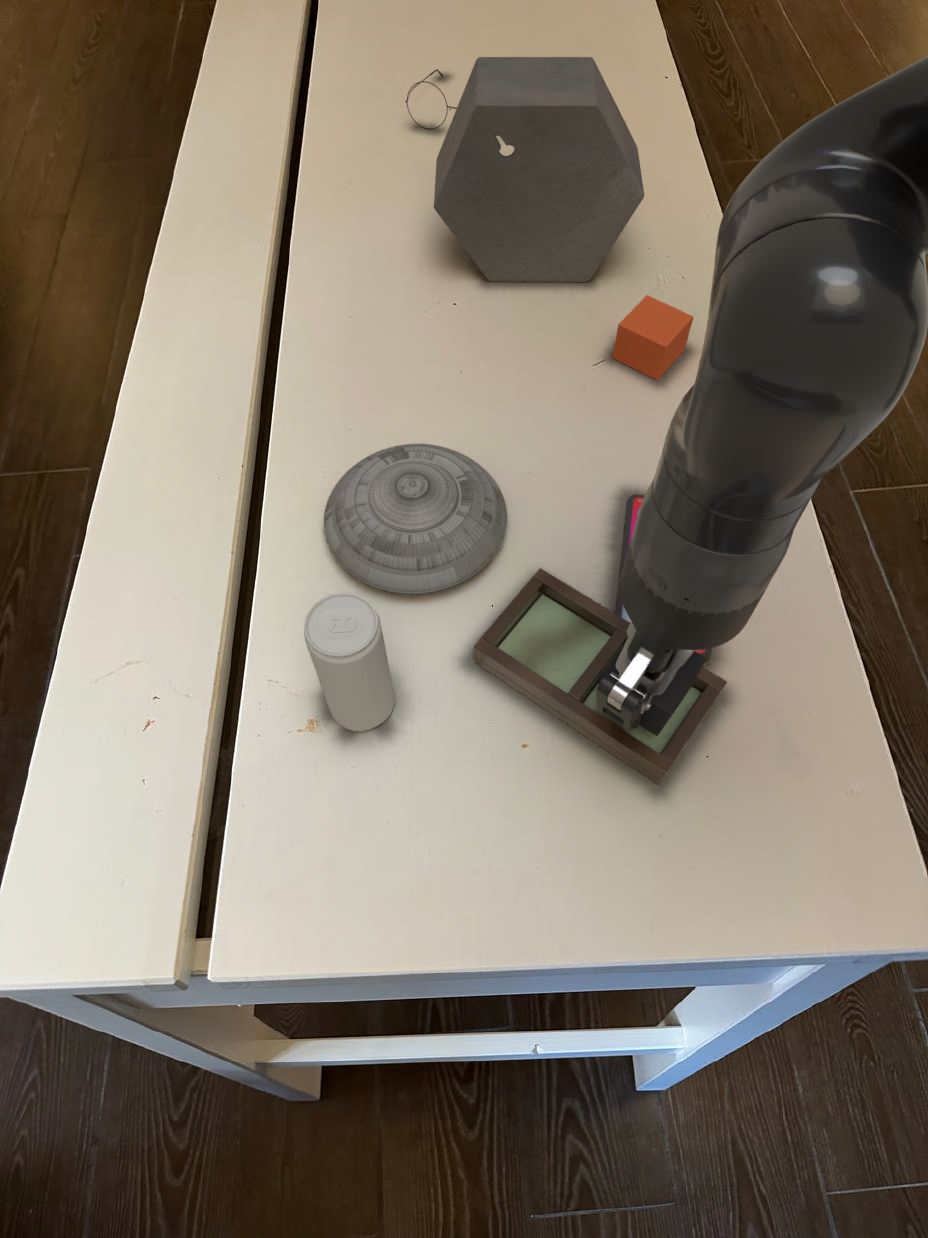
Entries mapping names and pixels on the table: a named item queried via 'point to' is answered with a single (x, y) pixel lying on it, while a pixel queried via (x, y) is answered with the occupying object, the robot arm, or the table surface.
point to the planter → (537, 169)
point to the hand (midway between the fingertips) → (645, 687)
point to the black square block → (671, 696)
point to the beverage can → (350, 660)
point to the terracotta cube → (652, 337)
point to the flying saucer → (415, 519)
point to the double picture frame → (583, 671)
